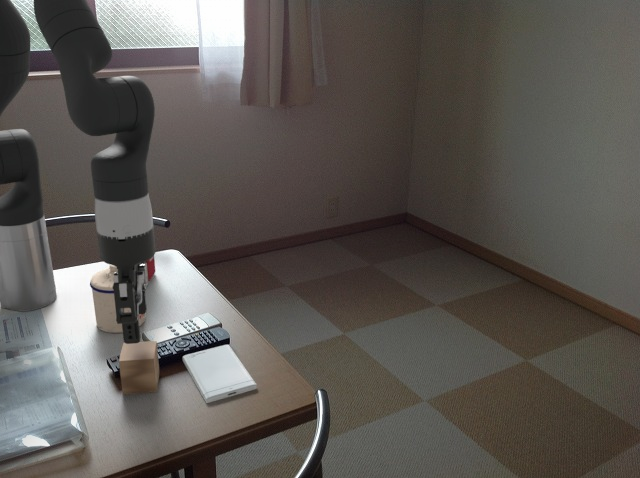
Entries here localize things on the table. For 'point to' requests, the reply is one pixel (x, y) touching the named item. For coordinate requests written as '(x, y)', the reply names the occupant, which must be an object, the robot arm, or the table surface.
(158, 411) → the table surface
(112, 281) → the teacup with lid
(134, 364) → the tan block
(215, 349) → the hard drive
